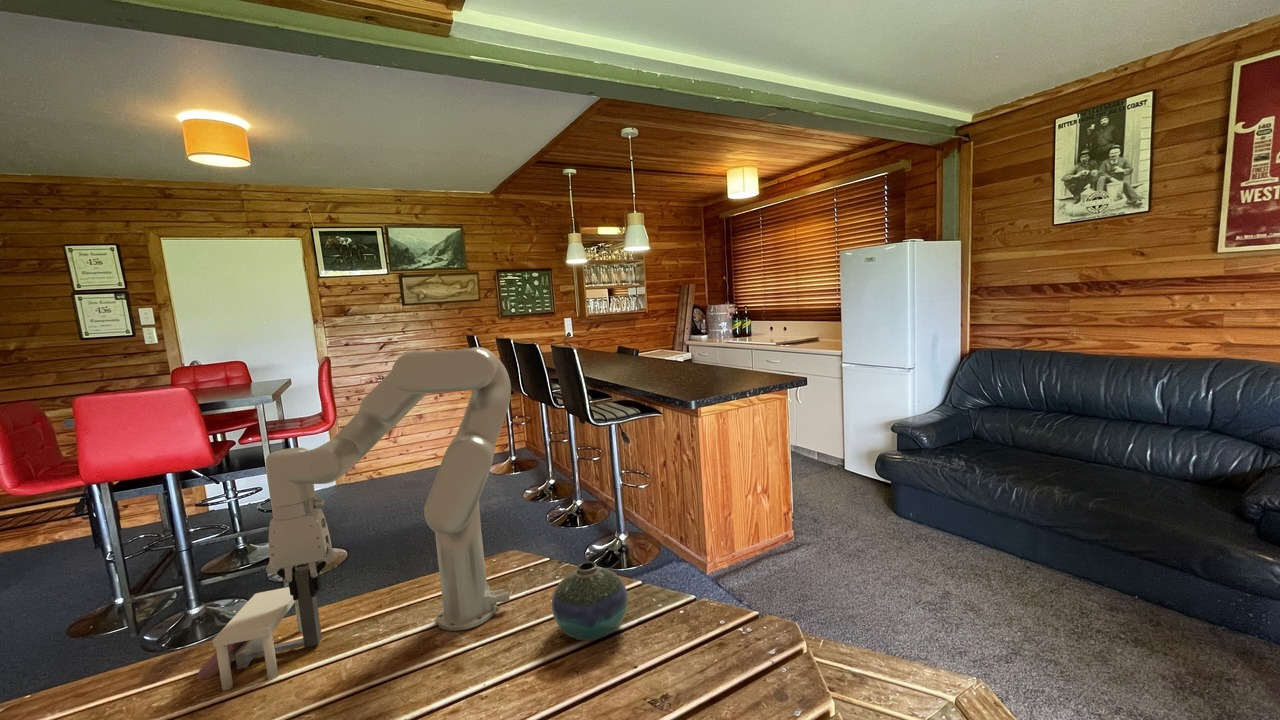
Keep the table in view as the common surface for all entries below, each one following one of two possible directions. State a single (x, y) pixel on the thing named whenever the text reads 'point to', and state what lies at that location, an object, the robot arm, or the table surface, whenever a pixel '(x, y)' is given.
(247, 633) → the low stool
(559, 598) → the vase
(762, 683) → the table surface
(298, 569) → the scraper
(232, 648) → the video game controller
